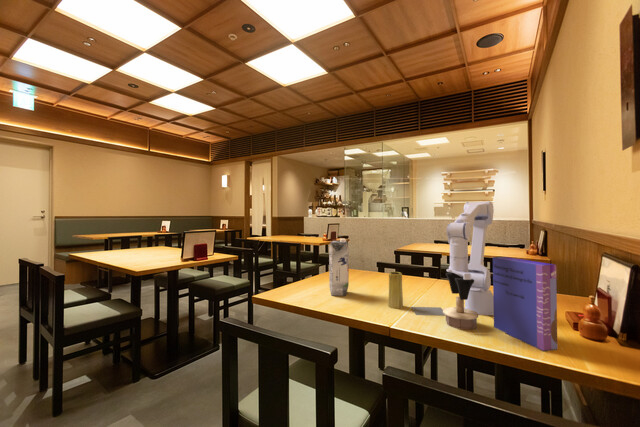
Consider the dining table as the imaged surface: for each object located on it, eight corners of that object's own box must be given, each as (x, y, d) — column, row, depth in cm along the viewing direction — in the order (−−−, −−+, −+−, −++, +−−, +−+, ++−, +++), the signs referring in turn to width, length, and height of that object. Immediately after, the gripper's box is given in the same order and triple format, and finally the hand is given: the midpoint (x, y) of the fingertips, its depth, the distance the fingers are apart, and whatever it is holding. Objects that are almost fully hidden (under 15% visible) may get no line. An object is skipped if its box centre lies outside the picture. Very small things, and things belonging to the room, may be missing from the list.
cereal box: (557, 349, 82) (556, 264, 82) (543, 351, 81) (542, 264, 81) (505, 327, 99) (504, 256, 99) (493, 328, 98) (492, 256, 98)
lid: (471, 309, 105) (471, 294, 105) (483, 320, 94) (483, 302, 94) (439, 308, 107) (439, 292, 107) (447, 318, 96) (447, 301, 96)
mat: (440, 308, 119) (440, 307, 119) (448, 316, 109) (448, 315, 109) (410, 307, 120) (410, 306, 120) (416, 315, 110) (416, 314, 110)
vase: (403, 310, 117) (403, 274, 118) (388, 309, 119) (388, 274, 119) (402, 305, 123) (402, 271, 124) (387, 304, 125) (387, 271, 125)
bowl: (469, 321, 104) (469, 310, 104) (480, 331, 95) (480, 318, 95) (443, 320, 105) (443, 309, 105) (451, 330, 96) (451, 318, 96)
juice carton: (328, 296, 139) (328, 239, 139) (331, 290, 149) (331, 237, 150) (347, 296, 137) (347, 239, 138) (349, 291, 148) (348, 238, 148)
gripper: (440, 254, 109) (440, 290, 109) (454, 260, 94) (455, 302, 94) (459, 254, 108) (460, 291, 108) (477, 260, 94) (477, 302, 94)
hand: (459, 296), depth 101 cm, fingers open, 7 cm apart
